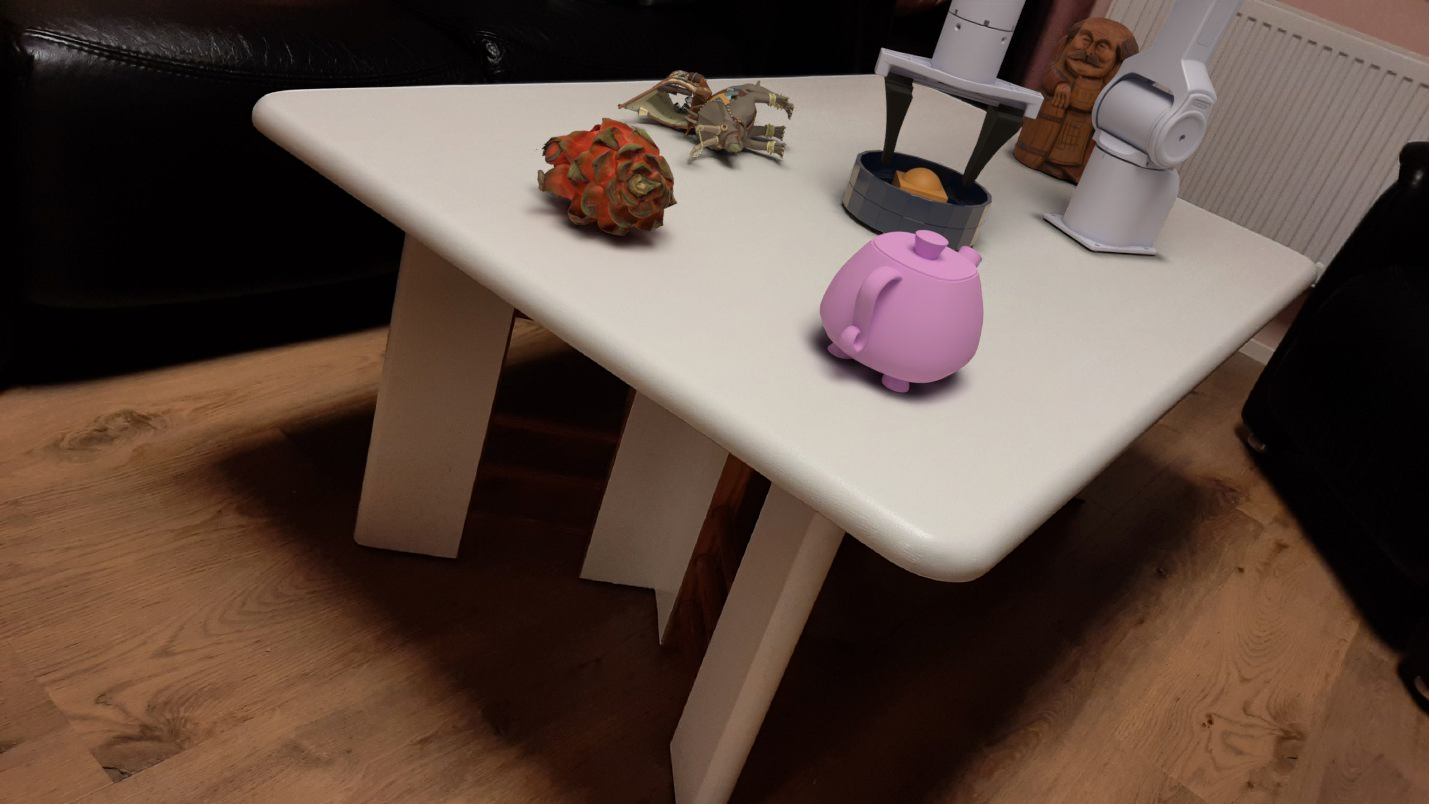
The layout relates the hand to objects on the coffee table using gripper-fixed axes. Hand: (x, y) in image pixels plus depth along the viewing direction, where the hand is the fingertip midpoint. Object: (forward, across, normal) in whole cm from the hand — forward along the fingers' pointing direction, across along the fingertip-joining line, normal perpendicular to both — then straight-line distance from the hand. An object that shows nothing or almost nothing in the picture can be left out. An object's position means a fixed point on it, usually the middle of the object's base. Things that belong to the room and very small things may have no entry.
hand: (925, 172), depth 94 cm
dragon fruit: (+5, +26, +20) cm, 33 cm away
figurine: (+5, +21, -9) cm, 23 cm away
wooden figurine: (+5, -20, -35) cm, 41 cm away
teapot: (+5, +3, +29) cm, 30 cm away
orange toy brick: (+4, 0, 0) cm, 4 cm away
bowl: (+5, 0, 0) cm, 5 cm away
